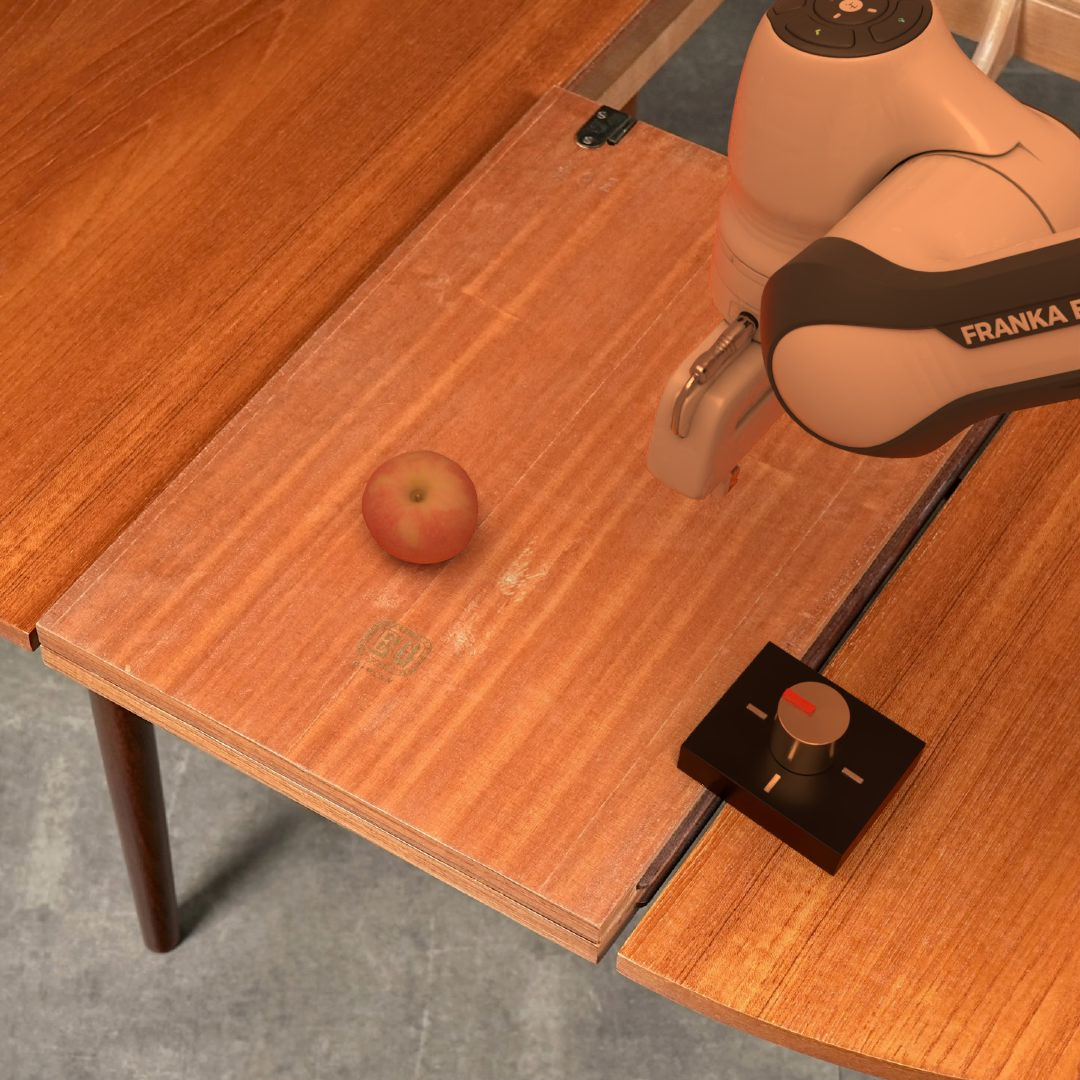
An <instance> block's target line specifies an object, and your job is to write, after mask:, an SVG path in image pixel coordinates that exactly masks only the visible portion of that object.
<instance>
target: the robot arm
mask: <svg viewBox="0 0 1080 1080" xmlns="http://www.w3.org/2000/svg"><path fill="white" fill-rule="evenodd" d="M743 62H744V63H743V65H742V68H741V72H740V77H739V82H738V85H737V90H736V94H735V99H734V103H733V109H732V115H731V121H730V127H729V134H728V140H727V141H728V142H727V160H728V165H729V170H730V175H731V177H730V179H729V181H728V182H727V184H726V185H725V188H724V190H723V191H722V194H721V197H720V201H719V205H718V209H717V216H716V224H715V229H714V230H715V232H714V238H713V243H712V249H711V258H710V265H709V271H708V289H709V293H710V297H711V300H712V303H713V304H714V306H715V308H716V310H717V311H718V312H719V314H720V316H722V318H723V319H722V320H721V321H720V322H719V323H717V325H716V326H715V327H714V328H713V329H712V330H711V332H710V333H708V334H707V335H706V336H705V337H704V338H703V339H702V341H700V343H698V345H697V346H695V348H693V350H692V351H690V353H689V354H687V356H686V357H685V358H684V359H683V360H682V361H680V363H679V364H678V366H677V367H675V370H674V371H672V373H671V375H670V376H669V378H668V379H667V382H666V384H665V386H664V388H663V389H662V392H661V395H660V398H659V401H658V404H657V406H656V411H655V415H654V418H653V423H652V427H651V430H650V431H651V432H650V435H649V440H648V446H647V451H646V455H645V467H646V469H647V472H648V473H649V474H650V475H651V476H652V477H653V478H654V479H656V480H657V481H658V482H660V483H661V484H663V485H664V486H666V487H667V488H669V489H670V490H672V491H674V492H675V493H677V494H680V495H681V496H683V497H686V498H688V499H691V500H695V501H703V500H705V499H706V498H707V497H709V496H712V497H713V498H715V499H717V500H723V499H724V498H725V497H726V496H727V495H728V494H729V492H730V491H731V490H732V489H733V488H734V487H735V485H736V484H737V483H738V481H739V478H738V477H739V476H740V471H741V466H739V465H738V464H739V463H740V462H741V461H742V460H743V459H744V458H745V456H747V454H748V453H749V452H750V451H751V450H752V449H753V448H754V447H755V445H756V444H757V443H758V442H760V440H761V439H762V438H763V437H764V436H765V435H766V433H768V431H769V430H770V429H771V428H772V427H773V426H774V425H775V424H776V422H778V421H779V420H780V418H781V417H782V416H783V415H784V414H785V413H786V414H787V415H788V416H789V417H790V419H792V421H793V422H794V423H795V424H796V425H798V427H800V428H801V429H802V430H803V431H805V432H806V433H808V434H809V435H810V436H812V437H813V438H815V439H817V440H818V441H820V442H822V443H824V444H826V445H829V446H830V447H832V448H835V449H839V450H842V451H845V452H849V453H852V454H856V455H861V456H866V457H873V458H881V459H913V458H919V457H923V456H926V455H929V454H931V453H933V452H935V451H937V450H938V449H940V448H941V447H943V446H944V445H946V444H947V443H948V442H949V441H951V440H952V439H953V438H955V437H956V436H958V435H959V434H960V433H962V432H963V431H964V430H966V429H968V428H969V427H971V426H974V425H975V424H977V423H979V422H982V421H984V420H987V419H991V418H994V417H996V416H1001V415H1004V414H1008V413H1009V414H1010V413H1013V412H1018V411H1023V410H1027V409H1032V408H1037V407H1038V408H1039V407H1043V406H1047V405H1048V406H1049V405H1053V404H1058V403H1064V402H1069V401H1073V400H1074V401H1075V400H1078V399H1079V400H1080V132H1079V131H1078V130H1077V129H1076V128H1075V127H1074V126H1072V125H1071V124H1070V123H1068V122H1067V121H1065V120H1064V119H1062V118H1061V117H1059V116H1058V115H1055V114H1053V113H1052V112H1049V111H1047V110H1045V109H1043V108H1040V107H1038V106H1036V105H1034V104H1031V103H1029V102H1026V101H1023V100H1021V99H1019V98H1016V97H1015V96H1012V95H1011V94H1010V93H1008V92H1007V91H1006V90H1005V89H1003V88H1002V87H1001V86H1000V85H998V83H996V82H995V81H994V80H993V79H992V78H990V77H989V76H988V75H987V74H985V72H983V70H981V69H980V68H979V67H978V66H977V64H975V63H974V62H973V61H972V60H971V59H970V58H969V57H968V56H967V54H966V53H965V52H964V51H963V50H962V49H961V47H960V45H959V44H958V43H957V41H956V40H955V38H954V36H953V35H952V33H951V30H950V28H949V27H948V24H947V22H946V20H945V18H944V15H943V13H942V11H941V9H940V7H939V6H938V4H937V2H936V1H935V0H776V1H775V2H774V3H773V4H772V5H771V6H770V7H769V8H768V9H767V11H766V12H764V14H763V16H762V17H761V19H760V21H759V23H758V25H757V27H756V28H755V31H754V33H753V36H752V39H751V41H750V43H749V46H748V50H747V53H746V56H745V59H744V61H743Z"/></svg>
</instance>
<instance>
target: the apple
mask: <svg viewBox="0 0 1080 1080" xmlns="http://www.w3.org/2000/svg"><path fill="white" fill-rule="evenodd" d="M475 486H476V485H475V484H474V482H473V481H472V479H471V477H470V475H469V474H468V473H467V471H466V470H465V469H464V467H462V466H461V465H460V464H459V463H458V462H456V461H455V460H453V459H451V458H449V457H448V456H446V455H444V454H442V453H440V452H438V451H433V450H425V449H424V450H423V449H421V450H413V451H407V452H403V453H400V454H398V455H396V456H394V457H391V458H389V459H387V460H386V461H384V462H383V463H382V464H380V465H379V466H378V467H377V468H376V469H375V471H373V473H372V474H371V476H370V477H369V479H368V481H367V483H366V485H365V488H364V490H363V493H362V498H361V513H362V517H363V521H364V523H365V525H366V528H367V529H368V530H369V533H370V534H371V536H372V538H373V540H374V541H375V542H376V543H377V544H378V546H380V547H381V549H383V550H384V551H386V553H387V554H388V555H390V556H392V557H394V558H395V559H398V560H401V561H404V562H408V563H412V564H422V565H425V564H437V563H441V562H445V561H447V560H450V559H451V558H454V557H456V556H457V555H458V554H460V553H461V552H462V551H463V550H464V549H465V548H466V547H467V545H468V544H469V543H470V541H471V539H472V538H473V536H474V532H475V530H476V527H477V522H478V517H479V498H478V494H477V493H478V492H477V489H476V487H475Z"/></svg>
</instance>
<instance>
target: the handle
mask: <svg viewBox="0 0 1080 1080" xmlns="http://www.w3.org/2000/svg"><path fill="white" fill-rule="evenodd" d="M849 721H850V712H849V708H848V705H847V703H846V701H845V700H844V698H843V697H842V696H841V695H840V694H839V693H838V692H837V691H836V690H834V689H833V688H831V687H830V686H827V685H825V684H822V683H818V682H803V683H799V684H796V685H794V686H792V687H790V688H787V689H786V691H785V692H784V693H783V695H782V697H781V699H780V701H779V704H778V708H777V711H776V715H775V718H774V722H773V725H772V729H771V733H770V738H769V743H770V748H771V751H772V754H773V755H774V757H775V759H776V760H777V761H778V762H779V763H780V764H781V765H782V766H783V767H785V768H786V769H788V770H790V771H792V772H795V773H798V774H804V775H812V774H817V773H820V772H823V771H825V770H826V769H828V768H829V767H830V766H831V765H832V764H833V763H834V762H835V760H836V758H837V756H838V754H839V751H840V748H841V745H842V742H843V740H844V737H845V734H846V731H847V728H848V725H849Z"/></svg>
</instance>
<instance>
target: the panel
mask: <svg viewBox="0 0 1080 1080" xmlns="http://www.w3.org/2000/svg"><path fill="white" fill-rule="evenodd" d="M803 682H818V683H822V684H825V685H827V686H830V687H831V688H833V689H834V690H836V691H837V692H838V693H839V694H840V695H841V696H842V697H843V698H844V700H845V701H846V703H847V705H848V708H849V712H850V721H849V725H848V728H847V731H846V734H845V737H844V740H843V742H842V745H841V748H840V751H839V754H838V756H837V758H836V760H835V762H834V763H833V764H832V765H831V766H830V767H829V768H828V769H826V770H825V771H823V772H820V773H817V774H812V775H804V774H798V773H795V772H792V771H790V770H788V769H786V768H785V767H783V766H782V765H781V764H780V763H779V762H778V761H777V760H776V759H775V757H774V755H773V754H772V751H771V748H770V743H769V738H770V733H771V729H772V725H773V722H774V718H775V715H776V711H777V708H778V704H779V701H780V699H781V697H782V695H783V693H784V692H785V691H786V689H787V688H790V687H792V686H794V685H796V684H799V683H803ZM926 746H927V743H926V742H925V741H924V740H922V739H921V738H920V737H918V736H917V735H916V734H915V735H914V734H913V733H912V732H910V731H909V730H907V729H905V728H904V727H903V726H901V725H900V724H898V723H896V722H895V721H894V720H892V719H890V718H889V717H887V716H886V715H884V714H883V713H881V712H879V711H878V710H877V709H875V708H873V707H872V706H870V705H869V704H868V703H866V702H864V701H863V700H861V699H859V698H858V697H857V696H856V695H854V694H852V693H851V692H849V691H848V690H846V689H844V688H843V687H842V686H840V685H838V684H836V683H835V682H833V681H832V680H830V679H829V678H828V677H826V676H824V675H823V674H821V673H820V672H819V671H817V670H815V669H814V668H812V667H810V666H809V665H808V664H806V663H805V662H803V661H801V660H800V659H798V658H797V657H795V655H792V654H791V653H790V652H788V651H786V650H785V649H783V648H782V647H780V646H778V645H777V644H775V643H774V642H773V641H771V640H768V641H767V643H765V645H764V647H763V648H761V650H760V651H759V652H758V653H757V655H755V657H754V658H753V659H752V660H751V662H750V663H749V664H748V665H747V667H745V669H744V670H743V671H742V672H741V674H740V675H739V676H738V677H737V678H736V679H735V680H734V682H733V683H732V684H731V685H730V686H729V688H728V689H727V690H726V691H725V692H724V693H723V695H722V696H721V697H720V698H719V699H718V701H717V702H716V703H715V704H714V705H713V706H712V708H711V709H710V710H709V711H708V712H707V713H706V715H705V716H704V717H703V718H702V719H701V721H700V722H699V723H698V724H697V725H696V726H695V728H694V729H693V730H692V732H691V733H690V734H688V736H687V737H686V738H685V740H684V741H683V742H682V743H681V744H680V748H679V752H678V753H679V754H678V758H677V764H676V768H677V769H679V770H680V771H682V772H683V773H684V774H686V775H687V776H689V777H690V778H691V777H692V778H691V779H693V780H694V779H695V780H694V781H696V782H697V781H698V782H697V783H699V782H700V783H701V784H700V783H699V784H700V785H702V784H703V785H704V786H705V788H706V789H707V790H709V791H710V792H712V794H714V795H716V796H717V797H719V798H720V799H722V800H723V801H724V802H726V804H728V805H730V806H731V807H733V808H735V809H736V810H737V811H738V812H740V813H742V814H743V815H744V816H746V817H747V818H749V819H750V820H752V821H753V822H754V823H755V824H757V825H759V827H762V828H763V829H764V830H766V831H767V832H768V833H770V834H771V835H773V836H774V837H776V838H777V839H779V840H780V841H781V842H783V843H784V844H786V845H787V846H789V847H790V848H791V849H793V850H795V851H796V852H797V853H799V854H800V855H802V857H804V858H806V859H807V860H808V861H810V862H812V863H813V864H815V865H816V866H817V867H819V868H820V869H822V870H823V871H825V872H826V873H827V874H829V875H830V876H831V877H835V875H836V874H837V873H838V871H839V870H840V869H841V868H842V866H843V865H844V864H845V862H846V861H847V859H849V857H850V855H851V854H852V853H853V851H854V850H855V849H856V847H857V846H858V845H859V843H860V842H861V841H862V840H863V838H864V837H865V835H866V834H867V833H868V832H869V830H870V829H871V827H872V826H873V825H874V823H875V822H876V821H877V819H878V818H879V817H880V816H881V814H882V813H883V812H884V810H885V809H886V807H887V806H888V805H889V803H890V802H891V801H892V799H893V798H894V797H895V795H896V794H897V793H898V791H899V790H900V788H901V787H902V786H903V784H904V783H905V782H906V781H907V779H908V778H909V776H911V774H912V773H913V771H914V770H915V768H916V767H917V766H918V765H919V762H920V759H921V757H922V756H923V753H924V750H925V748H926ZM703 785H702V786H703ZM704 786H703V787H704Z"/></svg>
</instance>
